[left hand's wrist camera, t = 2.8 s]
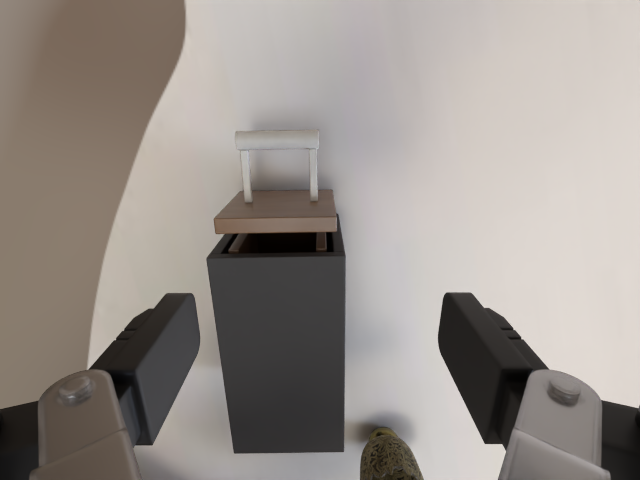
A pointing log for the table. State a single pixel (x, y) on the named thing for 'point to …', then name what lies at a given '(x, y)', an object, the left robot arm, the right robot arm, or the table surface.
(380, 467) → the cup
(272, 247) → the drawer
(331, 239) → the cabinet
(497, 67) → the table surface
